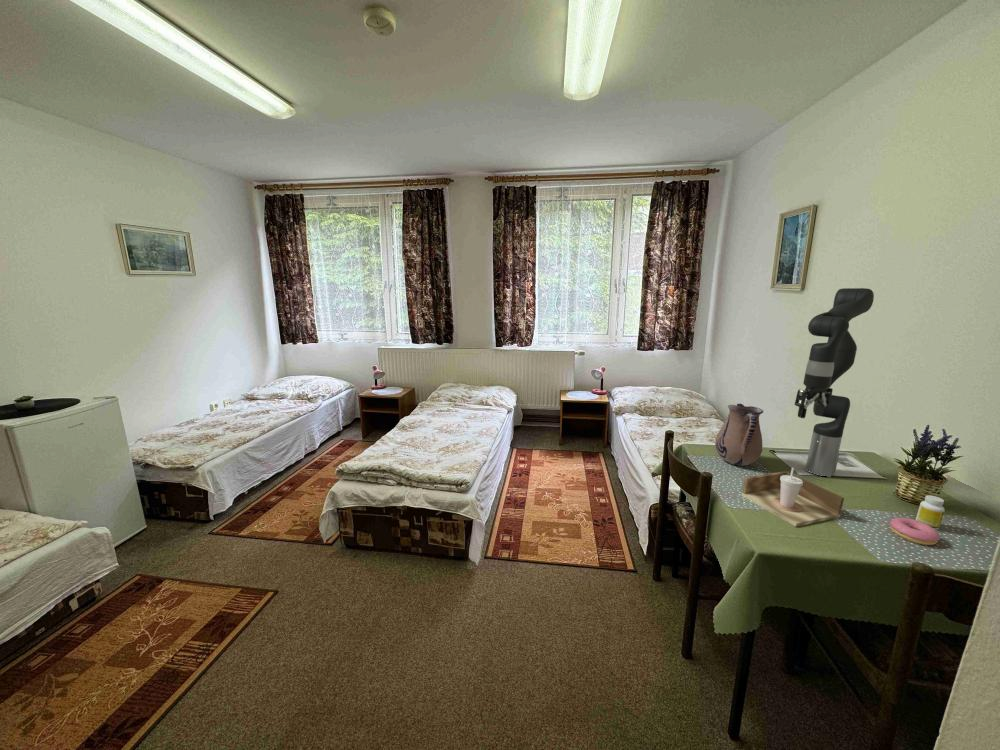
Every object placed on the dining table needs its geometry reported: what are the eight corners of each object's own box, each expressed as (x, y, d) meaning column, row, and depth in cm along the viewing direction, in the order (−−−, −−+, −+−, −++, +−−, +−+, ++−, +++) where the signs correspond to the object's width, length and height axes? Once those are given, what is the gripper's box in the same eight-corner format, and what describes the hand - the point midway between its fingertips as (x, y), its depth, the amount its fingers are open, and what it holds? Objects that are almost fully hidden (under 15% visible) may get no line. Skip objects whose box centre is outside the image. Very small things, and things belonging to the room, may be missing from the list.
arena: (782, 488, 150) (785, 471, 148) (839, 517, 131) (844, 497, 130) (741, 495, 144) (744, 477, 143) (795, 526, 126) (799, 506, 124)
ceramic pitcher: (746, 454, 181) (755, 402, 175) (772, 475, 160) (783, 417, 155) (706, 452, 182) (713, 400, 177) (727, 473, 162) (736, 415, 156)
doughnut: (940, 552, 115) (944, 540, 114) (888, 536, 122) (891, 524, 121) (935, 536, 122) (939, 524, 122) (887, 521, 130) (890, 510, 129)
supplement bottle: (942, 532, 124) (950, 504, 122) (918, 526, 127) (926, 499, 125) (935, 524, 129) (943, 497, 126) (912, 518, 131) (919, 492, 129)
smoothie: (771, 502, 137) (778, 465, 134) (781, 498, 140) (788, 461, 137) (792, 511, 132) (799, 473, 129) (801, 506, 135) (809, 469, 132)
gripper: (814, 377, 133) (805, 422, 137) (844, 374, 137) (835, 418, 141) (793, 372, 140) (785, 415, 144) (822, 369, 144) (813, 411, 148)
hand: (810, 416), depth 143 cm, fingers open, 8 cm apart
